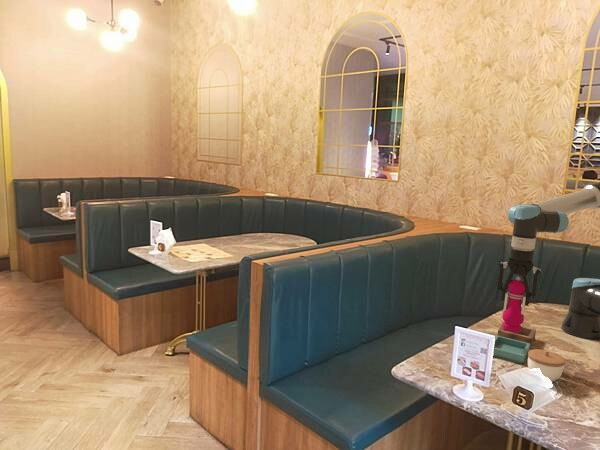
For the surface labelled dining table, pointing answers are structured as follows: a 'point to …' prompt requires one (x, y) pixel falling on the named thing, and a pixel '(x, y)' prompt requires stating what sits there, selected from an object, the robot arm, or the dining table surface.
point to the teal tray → (511, 349)
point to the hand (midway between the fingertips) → (513, 311)
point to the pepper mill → (514, 306)
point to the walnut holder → (519, 334)
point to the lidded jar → (546, 363)
